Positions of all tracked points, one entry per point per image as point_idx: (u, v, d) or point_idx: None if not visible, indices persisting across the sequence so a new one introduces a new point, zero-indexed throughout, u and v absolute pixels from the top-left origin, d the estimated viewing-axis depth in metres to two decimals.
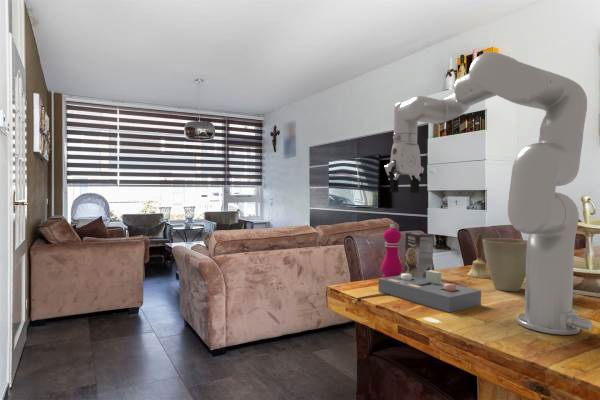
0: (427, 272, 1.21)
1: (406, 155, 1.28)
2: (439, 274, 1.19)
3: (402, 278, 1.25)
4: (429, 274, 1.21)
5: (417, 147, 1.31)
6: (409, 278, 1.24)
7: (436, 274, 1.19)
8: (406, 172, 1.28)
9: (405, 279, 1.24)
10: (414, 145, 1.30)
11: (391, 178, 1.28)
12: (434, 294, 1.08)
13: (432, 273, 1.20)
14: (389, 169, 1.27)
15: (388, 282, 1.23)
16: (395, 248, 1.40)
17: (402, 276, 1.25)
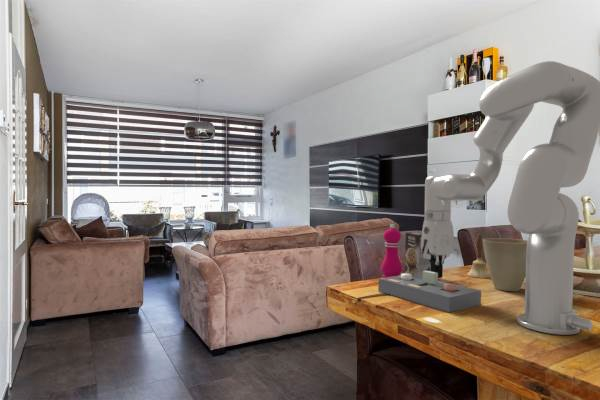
0: (424, 273, 1.21)
1: (439, 235, 1.18)
2: (436, 275, 1.18)
3: (402, 278, 1.25)
4: (425, 275, 1.20)
5: (450, 224, 1.21)
6: (409, 278, 1.24)
7: (433, 275, 1.18)
8: (439, 253, 1.18)
9: (405, 279, 1.24)
10: (447, 223, 1.20)
11: None
12: (434, 294, 1.08)
13: (429, 274, 1.19)
14: (429, 257, 1.19)
15: (388, 282, 1.23)
16: (395, 248, 1.40)
17: (402, 276, 1.25)
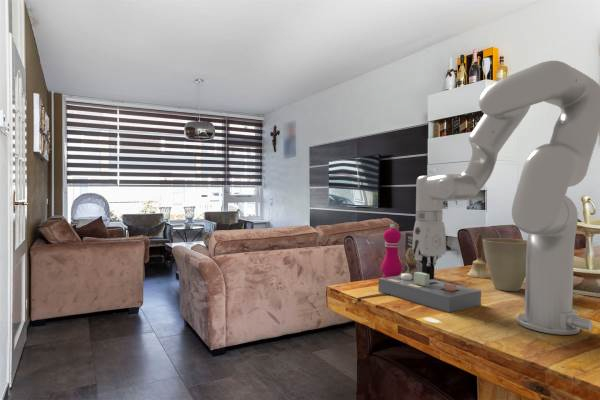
0: (415, 274, 1.19)
1: (431, 236, 1.16)
2: (427, 276, 1.16)
3: (402, 278, 1.25)
4: (417, 276, 1.18)
5: (442, 225, 1.19)
6: (409, 278, 1.24)
7: (424, 276, 1.16)
8: (430, 254, 1.16)
9: (405, 279, 1.24)
10: (439, 223, 1.18)
11: None
12: (434, 294, 1.08)
13: (420, 275, 1.17)
14: (420, 258, 1.17)
15: (388, 282, 1.23)
16: (395, 248, 1.40)
17: (402, 276, 1.25)
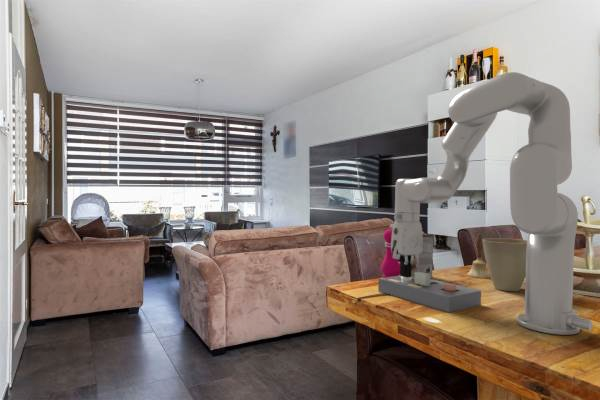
0: (416, 274, 1.19)
1: (408, 236, 1.22)
2: (428, 276, 1.16)
3: None
4: (417, 276, 1.18)
5: (419, 225, 1.25)
6: (409, 280, 1.24)
7: (425, 276, 1.16)
8: (408, 253, 1.22)
9: None
10: (416, 224, 1.24)
11: None
12: (434, 294, 1.08)
13: (421, 275, 1.17)
14: (398, 257, 1.23)
15: (388, 282, 1.23)
16: None
17: (402, 278, 1.25)
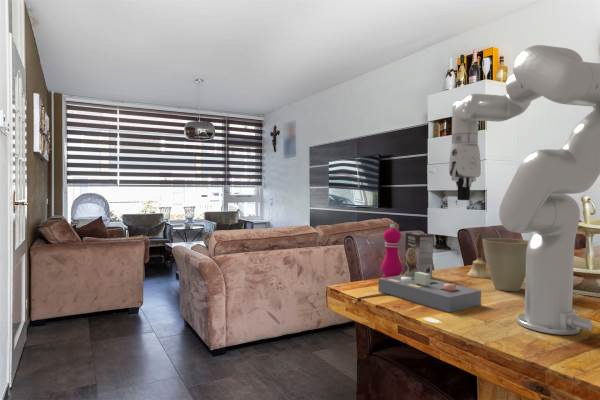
0: (416, 274, 1.19)
1: (467, 157, 1.21)
2: (428, 276, 1.16)
3: None
4: (417, 276, 1.18)
5: (477, 148, 1.24)
6: None
7: (425, 276, 1.16)
8: (467, 174, 1.21)
9: None
10: (475, 146, 1.23)
11: (461, 187, 1.24)
12: (434, 294, 1.08)
13: (421, 275, 1.17)
14: (457, 179, 1.22)
15: (388, 282, 1.23)
16: (395, 248, 1.40)
17: (402, 279, 1.25)
